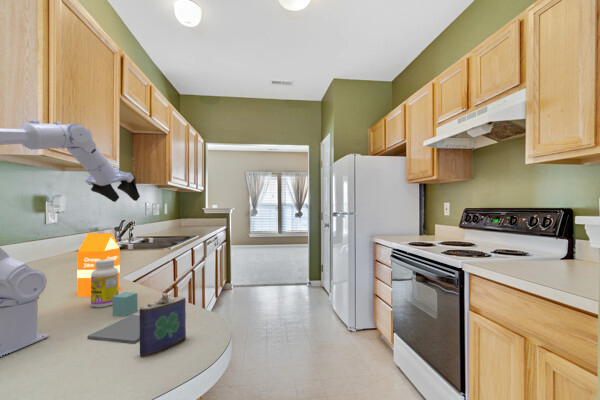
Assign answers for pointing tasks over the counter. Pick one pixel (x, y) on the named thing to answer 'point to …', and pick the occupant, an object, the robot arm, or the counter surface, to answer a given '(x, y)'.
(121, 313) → the teal block
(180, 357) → the counter surface
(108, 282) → the supplement bottle
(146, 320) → the flask
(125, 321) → the mat
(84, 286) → the orange juice
